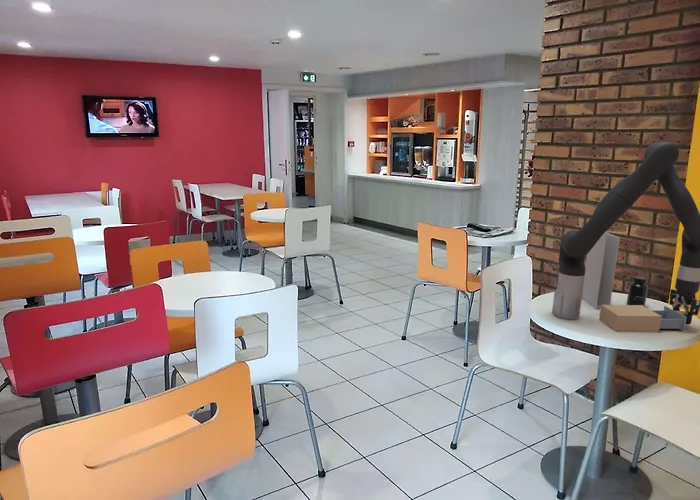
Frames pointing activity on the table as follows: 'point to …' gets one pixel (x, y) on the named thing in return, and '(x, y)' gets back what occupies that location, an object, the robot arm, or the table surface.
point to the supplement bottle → (637, 291)
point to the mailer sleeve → (630, 318)
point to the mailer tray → (672, 318)
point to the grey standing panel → (600, 271)
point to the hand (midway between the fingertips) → (680, 320)
